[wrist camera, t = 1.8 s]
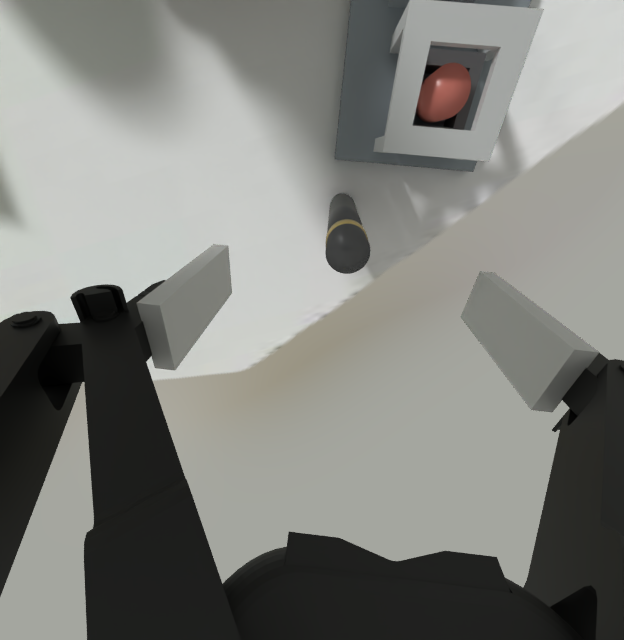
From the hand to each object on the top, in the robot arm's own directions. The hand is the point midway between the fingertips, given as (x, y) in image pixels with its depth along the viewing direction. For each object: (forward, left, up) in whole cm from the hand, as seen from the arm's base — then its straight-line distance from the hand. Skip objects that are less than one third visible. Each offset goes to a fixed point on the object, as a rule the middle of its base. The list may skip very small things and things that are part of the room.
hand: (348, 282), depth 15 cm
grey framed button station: (-15, +6, -23) cm, 28 cm away
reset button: (-11, +7, -19) cm, 23 cm away
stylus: (0, 0, -23) cm, 23 cm away
